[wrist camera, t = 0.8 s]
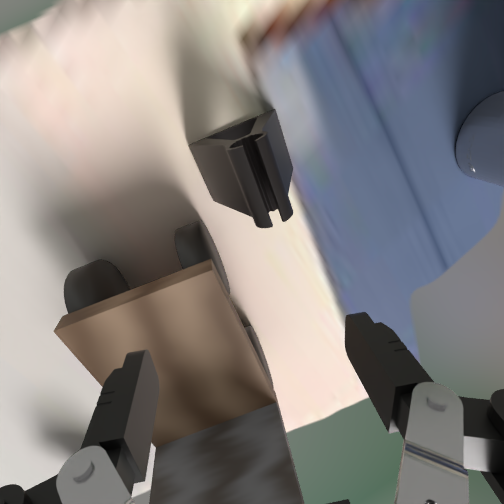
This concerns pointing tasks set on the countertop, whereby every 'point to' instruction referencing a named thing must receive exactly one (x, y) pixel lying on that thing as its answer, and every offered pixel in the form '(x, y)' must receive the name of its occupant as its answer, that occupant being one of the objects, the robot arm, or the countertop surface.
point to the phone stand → (248, 168)
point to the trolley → (189, 376)
